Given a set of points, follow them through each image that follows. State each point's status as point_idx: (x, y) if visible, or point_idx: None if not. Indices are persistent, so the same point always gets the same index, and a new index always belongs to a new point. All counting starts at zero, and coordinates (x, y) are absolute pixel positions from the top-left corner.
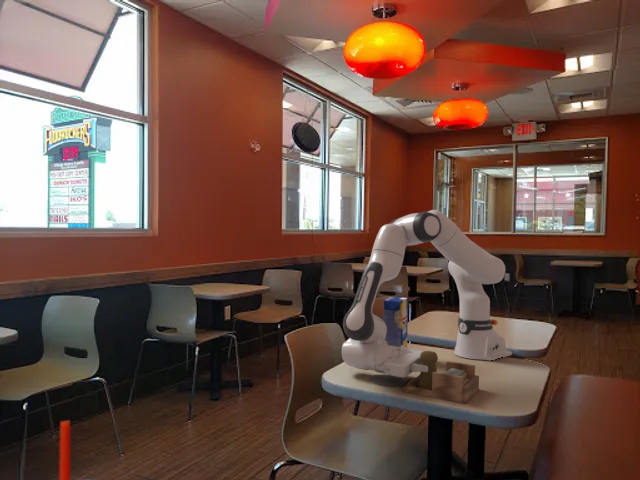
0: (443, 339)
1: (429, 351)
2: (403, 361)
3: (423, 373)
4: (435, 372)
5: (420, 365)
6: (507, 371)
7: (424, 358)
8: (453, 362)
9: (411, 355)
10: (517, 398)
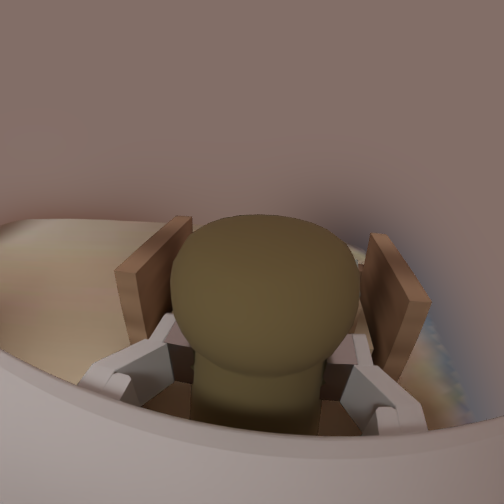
0: None
1: (255, 226)
2: (497, 489)
3: (317, 413)
4: (414, 293)
5: (384, 373)
6: (28, 247)
7: (357, 301)
8: (141, 254)
9: (75, 494)
10: None
